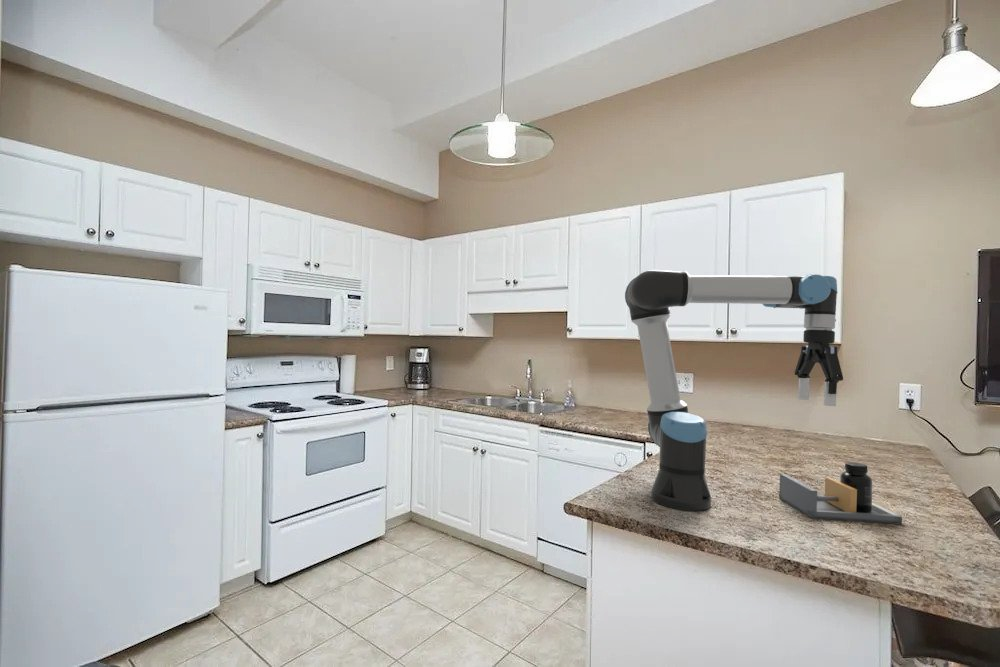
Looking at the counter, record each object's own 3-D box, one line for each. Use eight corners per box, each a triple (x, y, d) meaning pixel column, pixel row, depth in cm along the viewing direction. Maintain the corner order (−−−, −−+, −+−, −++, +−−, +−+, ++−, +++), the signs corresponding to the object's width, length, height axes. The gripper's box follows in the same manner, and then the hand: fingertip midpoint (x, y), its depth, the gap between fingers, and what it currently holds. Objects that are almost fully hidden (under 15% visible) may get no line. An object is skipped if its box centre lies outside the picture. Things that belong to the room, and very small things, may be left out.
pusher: (825, 512, 120) (826, 487, 121) (802, 498, 131) (802, 475, 131) (856, 514, 120) (857, 489, 120) (830, 500, 131) (830, 477, 131)
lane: (810, 518, 119) (811, 490, 119) (779, 498, 134) (780, 473, 134) (901, 523, 117) (902, 495, 117) (860, 503, 132) (860, 478, 132)
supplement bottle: (862, 505, 128) (863, 461, 128) (877, 514, 121) (879, 468, 121) (834, 503, 129) (835, 459, 129) (848, 512, 122) (849, 466, 123)
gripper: (861, 329, 123) (857, 409, 123) (809, 331, 148) (806, 398, 148) (831, 327, 124) (827, 407, 124) (784, 329, 149) (781, 396, 149)
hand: (815, 402), depth 136 cm, fingers open, 13 cm apart
